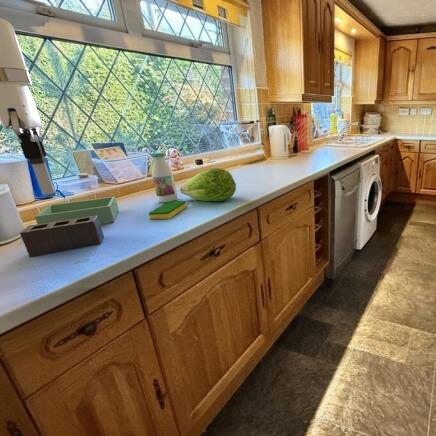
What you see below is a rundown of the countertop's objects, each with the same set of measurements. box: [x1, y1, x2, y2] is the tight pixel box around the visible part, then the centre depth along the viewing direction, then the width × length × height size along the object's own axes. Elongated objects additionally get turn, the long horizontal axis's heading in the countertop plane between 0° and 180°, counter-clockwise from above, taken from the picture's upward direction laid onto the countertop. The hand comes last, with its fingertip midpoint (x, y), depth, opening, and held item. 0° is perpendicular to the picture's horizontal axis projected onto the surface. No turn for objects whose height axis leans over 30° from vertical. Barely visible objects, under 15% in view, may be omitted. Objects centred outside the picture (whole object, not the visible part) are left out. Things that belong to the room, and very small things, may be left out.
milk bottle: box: [151, 151, 179, 203], centre depth 125 cm, size 8×8×20 cm
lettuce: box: [179, 167, 237, 202], centre depth 124 cm, size 15×24×14 cm, turn 73°
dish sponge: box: [148, 200, 187, 220], centre depth 111 cm, size 7×14×2 cm, turn 0°
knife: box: [28, 135, 56, 195], centre depth 78 cm, size 3×2×15 cm
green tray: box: [34, 196, 120, 225], centre depth 105 cm, size 20×15×6 cm
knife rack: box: [19, 215, 105, 258], centre depth 84 cm, size 16×6×7 cm, turn 118°
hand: (36, 157), depth 77 cm, fingers closed on knife, 2 cm apart
